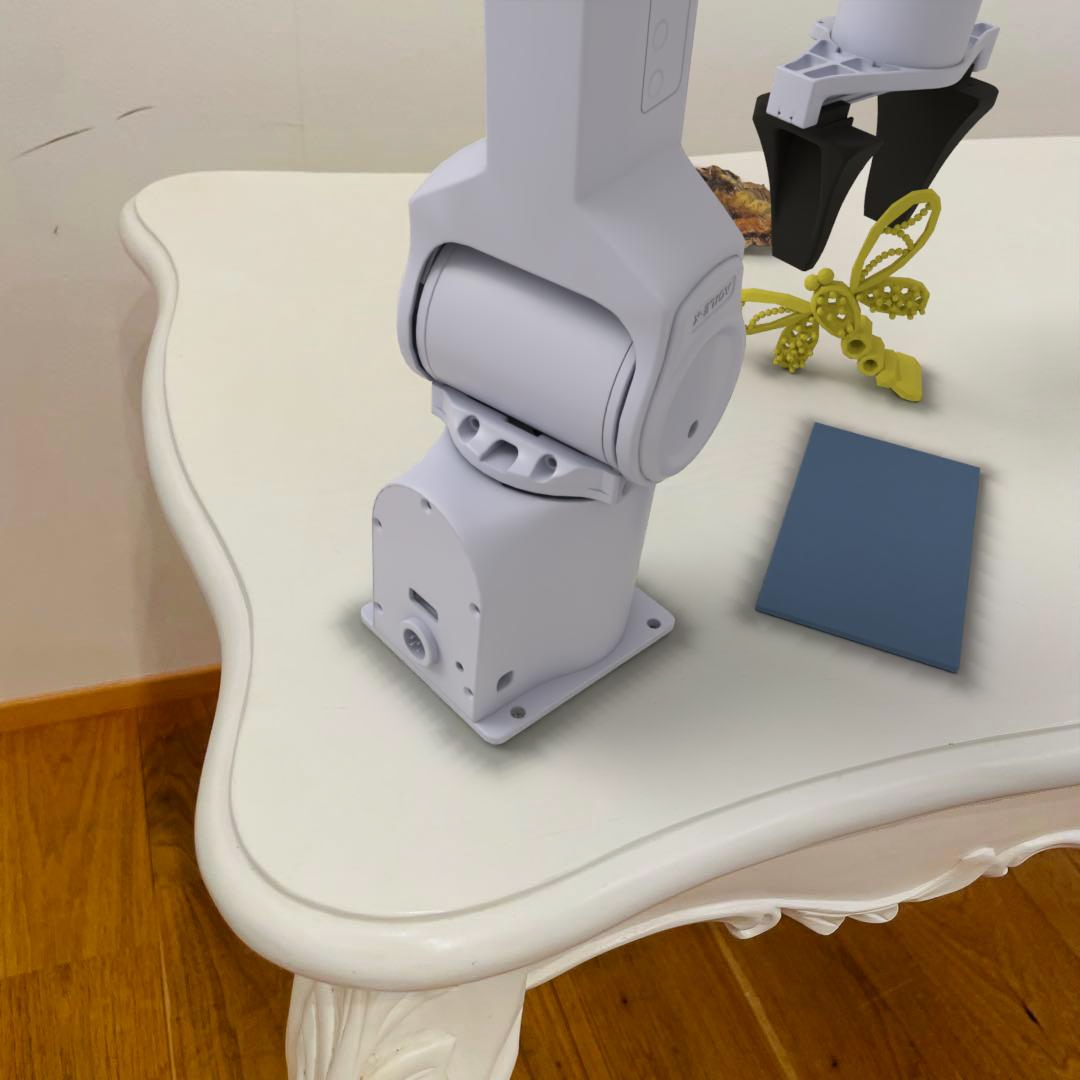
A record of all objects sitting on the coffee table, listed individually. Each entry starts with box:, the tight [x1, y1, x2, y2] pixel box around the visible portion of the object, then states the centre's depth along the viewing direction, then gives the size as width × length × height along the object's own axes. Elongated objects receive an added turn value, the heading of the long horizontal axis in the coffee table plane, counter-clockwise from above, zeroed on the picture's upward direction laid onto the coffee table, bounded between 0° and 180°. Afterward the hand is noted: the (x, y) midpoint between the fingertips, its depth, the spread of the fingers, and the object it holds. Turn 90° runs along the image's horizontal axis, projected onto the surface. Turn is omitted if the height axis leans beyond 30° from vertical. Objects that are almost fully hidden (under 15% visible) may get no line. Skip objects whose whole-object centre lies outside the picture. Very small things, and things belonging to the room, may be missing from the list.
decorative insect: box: [741, 188, 942, 402], centre depth 56 cm, size 13×3×10 cm
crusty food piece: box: [694, 164, 772, 249], centre depth 70 cm, size 9×12×3 cm
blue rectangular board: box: [754, 421, 981, 674], centre depth 48 cm, size 14×8×1 cm, turn 160°
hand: (839, 241), depth 54 cm, fingers open, 7 cm apart
